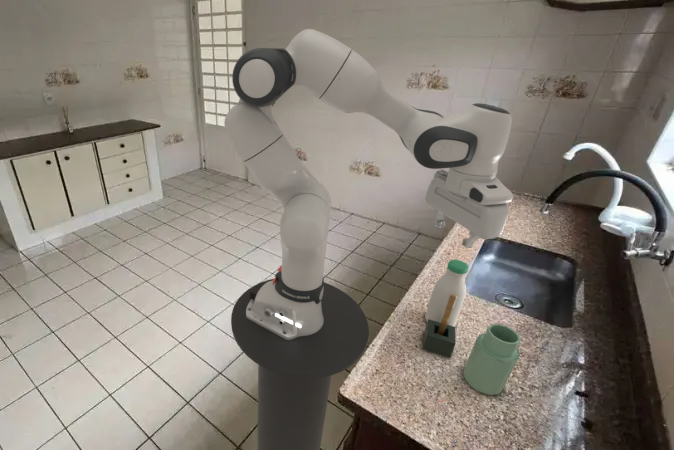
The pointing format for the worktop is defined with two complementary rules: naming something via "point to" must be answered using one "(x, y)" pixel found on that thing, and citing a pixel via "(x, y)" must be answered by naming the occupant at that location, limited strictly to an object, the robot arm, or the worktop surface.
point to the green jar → (492, 359)
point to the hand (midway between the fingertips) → (452, 236)
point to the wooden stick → (447, 314)
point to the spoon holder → (439, 339)
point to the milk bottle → (448, 293)
